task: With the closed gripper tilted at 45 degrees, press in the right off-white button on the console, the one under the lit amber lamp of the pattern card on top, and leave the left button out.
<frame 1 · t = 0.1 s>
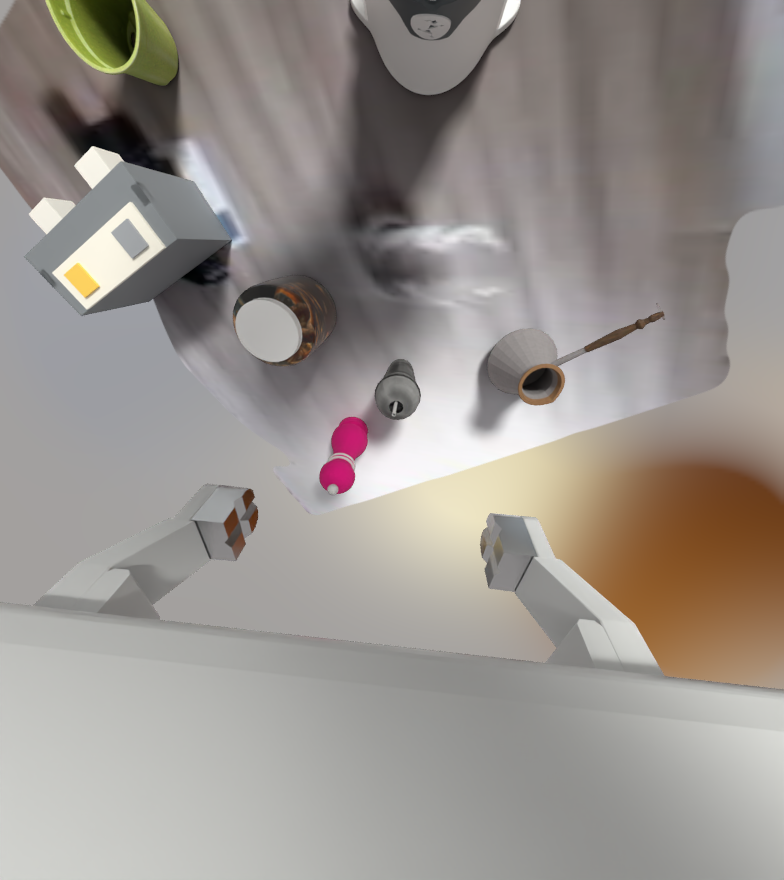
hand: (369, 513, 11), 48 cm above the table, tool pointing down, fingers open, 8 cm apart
jar: (302, 311, 53), on the table
button 2: (68, 228, 41), point 9 cm above the table, slide at 0.0 cm
coffee pot: (541, 338, 53), on the table
pepper mill: (353, 428, 65), on the table
console: (169, 247, 49), on the table
button 1: (115, 183, 38), point 9 cm above the table, slide at 0.0 cm
beverage cup: (400, 370, 58), on the table
plant pot: (154, 50, 38), on the table
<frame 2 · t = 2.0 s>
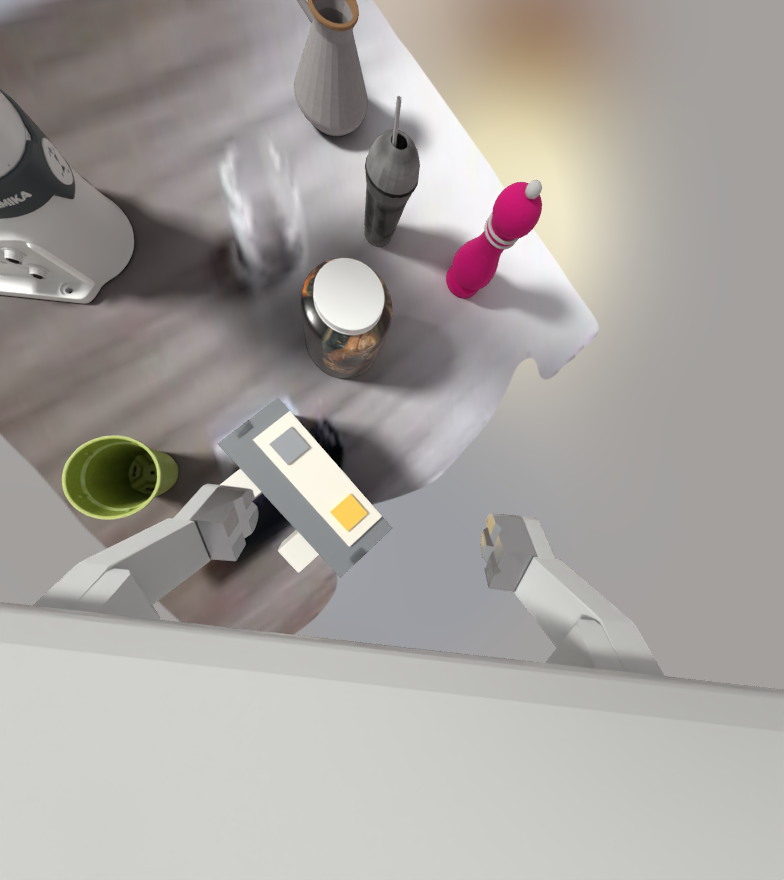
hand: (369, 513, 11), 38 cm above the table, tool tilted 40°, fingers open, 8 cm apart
jar: (342, 342, 49), on the table
button 2: (306, 542, 38), point 9 cm above the table, slide at 0.0 cm
coffee pot: (306, 95, 50), on the table
pepper mill: (461, 282, 55), on the table
console: (313, 480, 47), on the table
button 1: (250, 482, 37), point 9 cm above the table, slide at 0.0 cm
beverage cup: (377, 234, 52), on the table
plant pot: (155, 473, 43), on the table
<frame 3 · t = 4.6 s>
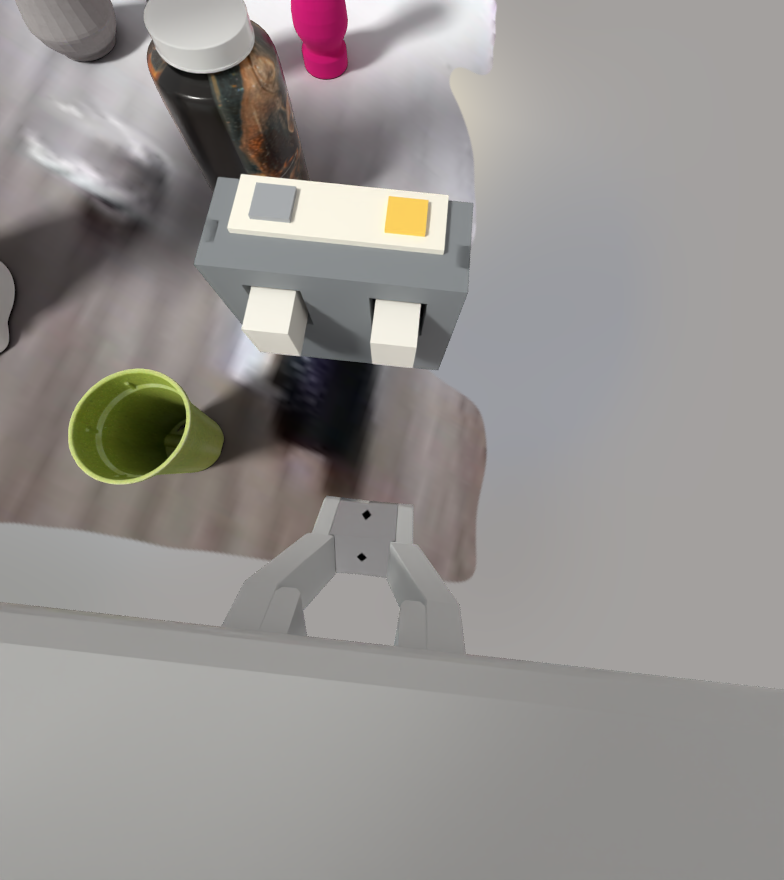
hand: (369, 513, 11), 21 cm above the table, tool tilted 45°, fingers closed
jar: (267, 197, 40), on the table
button 2: (395, 329, 26), point 9 cm above the table, slide at 0.0 cm
coffee pot: (55, 48, 44), on the table
pepper mill: (326, 66, 44), on the table
console: (355, 329, 36), on the table
button 1: (278, 316, 26), point 9 cm above the table, slide at 0.0 cm
plant pot: (197, 445, 33), on the table
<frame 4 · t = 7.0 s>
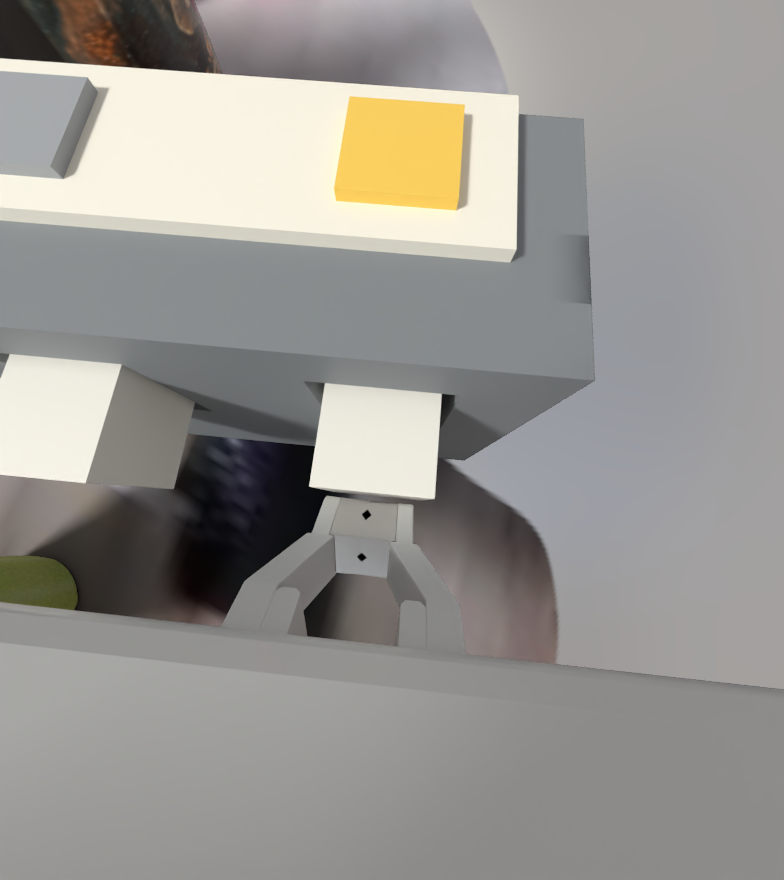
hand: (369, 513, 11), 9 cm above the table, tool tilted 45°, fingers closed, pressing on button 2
jar: (185, 172, 25), on the table
button 2: (382, 424, 11), point 9 cm above the table, slide at 0.5 cm, touching gripper
console: (320, 388, 21), on the table
button 1: (107, 412, 11), point 9 cm above the table, slide at 0.0 cm
plant pot: (32, 609, 18), on the table
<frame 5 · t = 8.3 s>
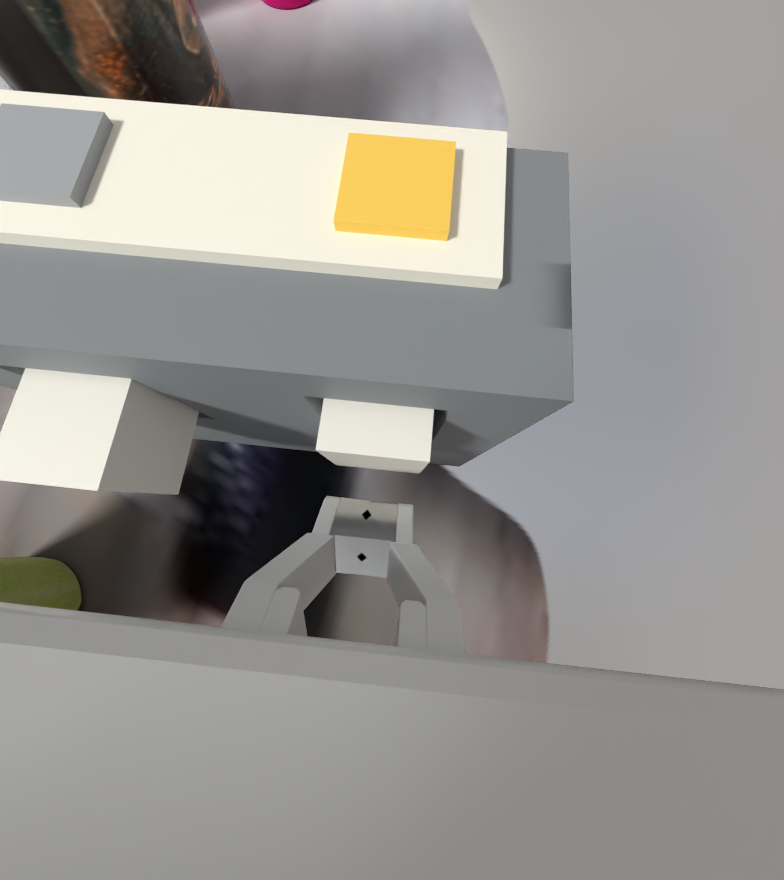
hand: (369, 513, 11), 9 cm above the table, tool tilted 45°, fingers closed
jar: (189, 181, 26), on the table
button 2: (382, 399, 12), point 9 cm above the table, slide at 1.9 cm
console: (320, 395, 21), on the table
button 1: (116, 421, 12), point 9 cm above the table, slide at 0.0 cm
plant pot: (38, 609, 19), on the table
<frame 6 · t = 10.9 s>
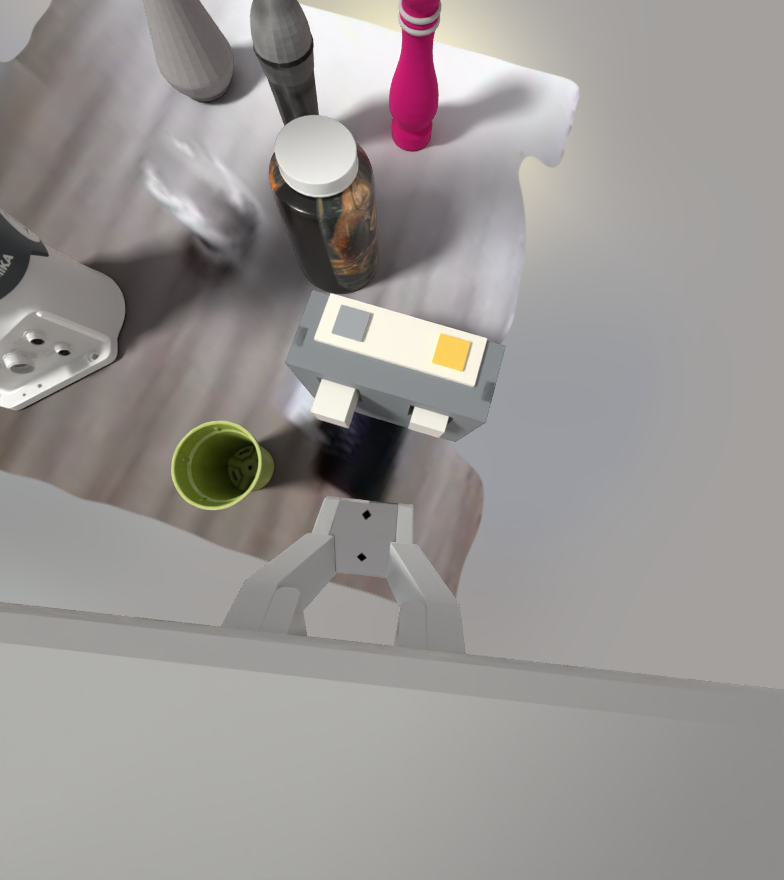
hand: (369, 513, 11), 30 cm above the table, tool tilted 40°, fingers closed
jar: (339, 259, 46), on the table
button 2: (431, 408, 33), point 9 cm above the table, slide at 1.9 cm
coffee pot: (176, 83, 50), on the table
pepper mill: (411, 136, 49), on the table
console: (393, 394, 42), on the table
button 1: (337, 398, 33), point 9 cm above the table, slide at 0.0 cm
beverage cup: (308, 149, 48), on the table
plant pot: (252, 468, 41), on the table
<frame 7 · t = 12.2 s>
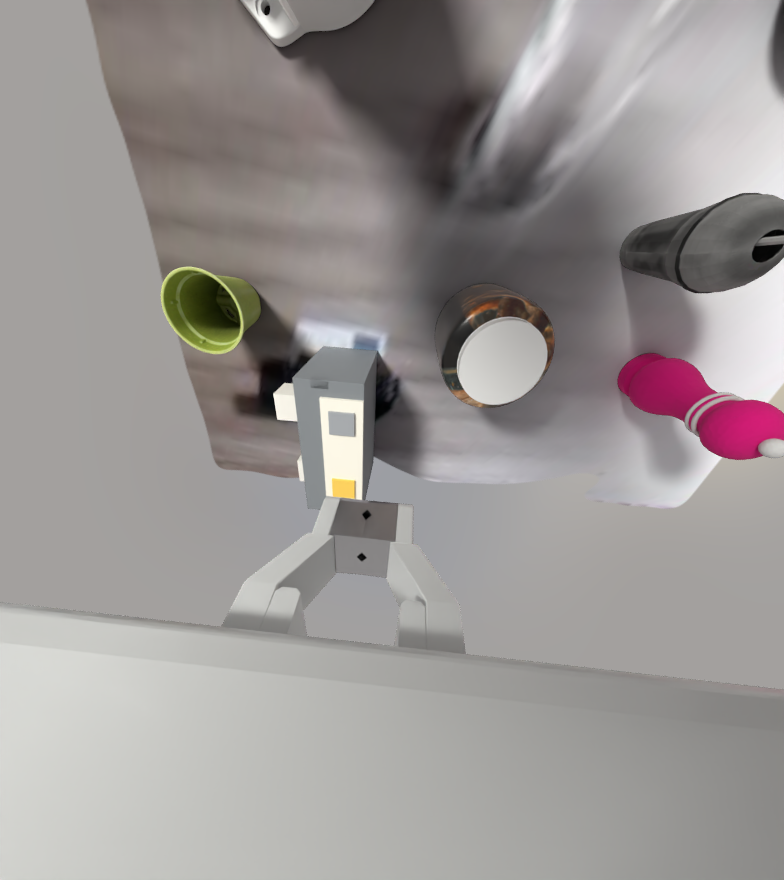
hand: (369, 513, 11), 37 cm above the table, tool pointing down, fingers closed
jar: (476, 330, 42), on the table
button 2: (319, 465, 45), point 9 cm above the table, slide at 1.9 cm
pepper mill: (640, 374, 44), on the table
console: (350, 409, 50), on the table
button 1: (299, 402, 40), point 9 cm above the table, slide at 0.0 cm
beverage cup: (639, 247, 36), on the table
plant pot: (240, 302, 42), on the table
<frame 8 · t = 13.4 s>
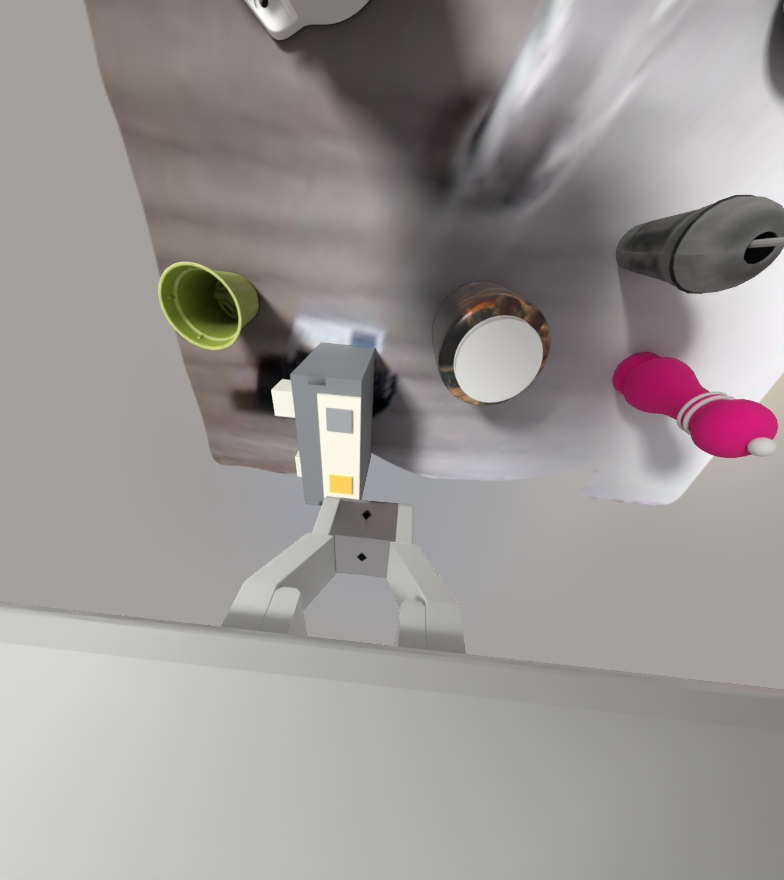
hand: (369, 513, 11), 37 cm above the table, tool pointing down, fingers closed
jar: (473, 328, 42), on the table
button 2: (316, 461, 45), point 9 cm above the table, slide at 1.9 cm
pepper mill: (635, 372, 44), on the table
console: (348, 406, 50), on the table
button 1: (297, 398, 40), point 9 cm above the table, slide at 0.0 cm
beverage cup: (636, 247, 36), on the table
plant pot: (238, 297, 42), on the table
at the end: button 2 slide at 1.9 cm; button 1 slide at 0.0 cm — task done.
